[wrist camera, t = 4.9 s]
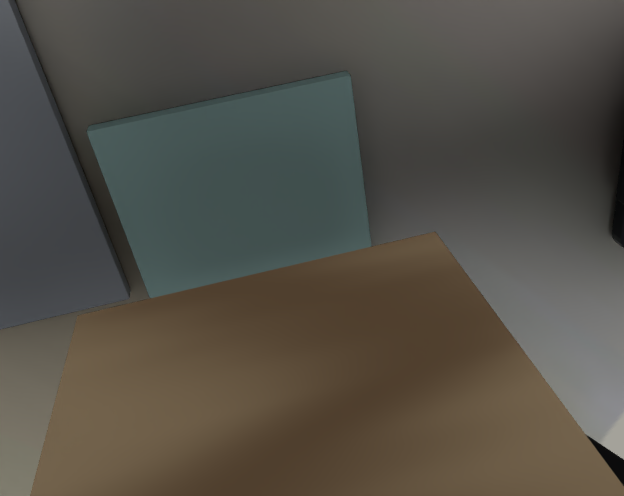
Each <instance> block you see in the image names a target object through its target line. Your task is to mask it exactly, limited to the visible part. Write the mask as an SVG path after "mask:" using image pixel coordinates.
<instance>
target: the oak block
mask: <svg viewBox="0 0 624 496" xmlns="http://www.w3.org/2000/svg"><path fill="white" fill-rule="evenodd" d="M30 496H624V486H623V485H622V483H621V482H620V481H619V479H618V478H617V476H616V475H615V474H614V472H613V471H612V470H611V468H610V467H609V466H608V464H607V463H606V462H605V460H604V459H603V458H602V456H601V455H600V454H599V452H598V451H597V449H596V448H595V447H594V445H593V444H592V443H591V441H590V440H589V439H588V437H587V436H586V435H585V433H584V432H583V431H582V429H581V428H580V427H579V425H578V424H577V422H576V421H575V420H574V418H573V417H572V416H571V414H570V413H569V412H568V410H567V409H566V408H565V406H564V405H563V404H562V402H561V401H560V400H559V398H558V397H557V395H556V394H555V393H554V391H553V390H552V389H551V387H550V386H549V385H548V383H547V382H546V381H545V379H544V378H543V377H542V375H541V374H540V373H539V371H538V370H537V368H536V367H535V366H534V364H533V363H532V362H531V360H530V359H529V358H528V356H527V355H526V354H525V352H524V351H523V350H522V348H521V347H520V345H519V344H518V343H517V341H516V340H515V339H514V337H513V336H512V335H511V333H510V332H509V331H508V329H507V328H506V327H505V325H504V324H503V323H502V321H501V320H500V318H499V317H498V316H497V314H496V313H495V312H494V310H493V309H492V308H491V306H490V305H489V304H488V302H487V301H486V300H485V298H484V297H483V296H482V294H481V293H480V291H479V290H478V289H477V287H476V286H475V285H474V283H473V282H472V281H471V279H470V278H469V277H468V275H467V274H466V273H465V271H464V270H463V269H462V267H461V266H460V264H459V263H458V262H457V260H456V259H455V258H454V256H453V255H452V254H451V252H450V251H449V250H448V248H447V247H446V246H445V244H444V243H443V241H442V240H441V239H440V237H439V236H438V235H437V233H436V232H432V233H427V234H423V235H419V236H415V237H410V238H406V239H402V240H398V241H393V242H389V243H385V244H380V245H376V246H372V247H368V248H363V249H359V250H355V251H351V252H346V253H342V254H338V255H333V256H329V257H325V258H321V259H316V260H312V261H308V262H304V263H299V264H295V265H291V266H287V267H282V268H278V269H274V270H269V271H265V272H261V273H257V274H252V275H248V276H244V277H240V278H235V279H231V280H227V281H222V282H218V283H214V284H210V285H205V286H201V287H197V288H193V289H188V290H184V291H180V292H176V293H171V294H167V295H163V296H158V297H154V298H150V299H146V300H141V301H137V302H133V303H129V304H124V305H120V306H116V307H111V308H107V309H103V310H99V311H94V312H90V313H86V314H82V315H78V316H77V320H76V324H75V328H74V331H73V335H72V339H71V343H70V347H69V350H68V354H67V358H66V362H65V366H64V369H63V373H62V377H61V381H60V384H59V388H58V392H57V396H56V400H55V403H54V407H53V411H52V415H51V419H50V422H49V426H48V430H47V434H46V438H45V441H44V445H43V449H42V453H41V456H40V460H39V464H38V468H37V472H36V475H35V479H34V483H33V487H32V491H31V494H30Z"/></svg>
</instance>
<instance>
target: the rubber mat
mask: <svg viewBox="0 0 624 496" xmlns="http://www.w3.org/2000/svg"><path fill="white" fill-rule="evenodd" d="M86 132H87V135H88V137H89V140H90V143H91V145H92V148H93V150H94V153H95V156H96V158H97V161H98V163H99V166H100V169H101V171H102V174H103V177H104V179H105V182H106V184H107V187H108V190H109V192H110V195H111V198H112V200H113V203H114V205H115V208H116V211H117V213H118V216H119V218H120V221H121V224H122V226H123V229H124V232H125V234H126V237H127V239H128V242H129V245H130V247H131V250H132V252H133V255H134V258H135V260H136V263H137V266H138V268H139V271H140V273H141V276H142V279H143V281H144V284H145V286H146V289H147V292H148V294H149V297H150V298H154V297H158V296H163V295H167V294H171V293H176V292H180V291H184V290H188V289H193V288H197V287H201V286H205V285H210V284H214V283H218V282H222V281H227V280H231V279H235V278H240V277H244V276H248V275H252V274H257V273H261V272H265V271H269V270H274V269H278V268H282V267H287V266H291V265H295V264H299V263H304V262H308V261H312V260H316V259H321V258H325V257H329V256H333V255H338V254H342V253H346V252H351V251H355V250H359V249H363V248H368V247H372V246H371V238H370V229H369V221H368V213H367V205H366V197H365V189H364V181H363V172H362V164H361V156H360V148H359V140H358V132H357V123H356V115H355V107H354V99H353V91H352V83H351V75H350V74H349V73H348V72H347V71H343V72H339V73H334V74H329V75H325V76H320V77H315V78H311V79H306V80H301V81H297V82H292V83H287V84H283V85H278V86H273V87H268V88H264V89H259V90H254V91H250V92H245V93H240V94H236V95H231V96H226V97H222V98H217V99H212V100H208V101H203V102H198V103H193V104H189V105H184V106H179V107H175V108H170V109H165V110H161V111H156V112H151V113H147V114H142V115H137V116H133V117H128V118H123V119H118V120H114V121H109V122H104V123H100V124H95V125H90V126H89V127H88V129H87V131H86Z"/></svg>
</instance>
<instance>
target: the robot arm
mask: <svg viewBox="0 0 624 496" xmlns="http://www.w3.org/2000/svg"><path fill="white" fill-rule="evenodd" d="M616 197H617V200H616V207H615V214H614V222H613V229H612V237H613V239H614V240H615V241H616V242H617V243H618V244H619V245H621V246H622V247H623V248H624V141H623V149H622V157H621V164H620V172H619V179H618V187H617V194H616ZM585 435H586V434H585ZM586 436H587V435H586ZM587 437H588V439H589V440H590V441H591V443H592V444H593V445H594V447H595V448H596V449H597V451H598V452H599V454H600V455H601V456H602V458H603V459H604V460H605V462H606V463H607V464H608V466H609V467H610V468H611V470H612V471H613V472H614V474H615V475H616V476H617V478H618V479H619V481H620V482H621V483H622V485H623V486H624V460H623V459H622V458H620V457H619V456H617V455H616V454H614V453H613V452H611V451H610V450H608V449H607V448H605V447H604V446H602V445H601V444H599V443H598V442H596V441H595V440H593V439H592V438H590V437H589V436H587Z"/></svg>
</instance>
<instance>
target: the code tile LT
mask: <svg viewBox="0 0 624 496" xmlns="http://www.w3.org/2000/svg"><path fill="white" fill-rule="evenodd" d="M130 291H131V290H130V287H129V285H128V282H127V280H126V278H125V275H124V273H123V270H122V268H121V265H120V263H119V260H118V258H117V255H116V253H115V250H114V248H113V245H112V243H111V240H110V238H109V235H108V233H107V230H106V228H105V225H104V223H103V220H102V218H101V215H100V213H99V210H98V208H97V205H96V203H95V200H94V198H93V195H92V193H91V190H90V188H89V185H88V183H87V180H86V178H85V175H84V173H83V170H82V168H81V165H80V163H79V160H78V158H77V155H76V153H75V150H74V148H73V145H72V143H71V140H70V138H69V135H68V133H67V130H66V128H65V125H64V123H63V120H62V118H61V115H60V113H59V110H58V108H57V105H56V103H55V100H54V98H53V95H52V93H51V90H50V88H49V85H48V83H47V80H46V78H45V75H44V73H43V70H42V68H41V65H40V63H39V60H38V58H37V55H36V53H35V50H34V48H33V45H32V43H31V40H30V38H29V35H28V33H27V30H26V28H25V25H24V23H23V20H22V18H21V15H20V13H19V10H18V8H17V5H16V3H15V0H0V329H4V328H8V327H12V326H17V325H21V324H25V323H29V322H34V321H38V320H42V319H46V318H51V317H55V316H59V315H63V314H67V313H72V312H76V311H80V310H84V309H89V308H93V307H97V306H101V305H106V304H110V303H114V302H118V301H122V300H127V299H129V298H130Z"/></svg>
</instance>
